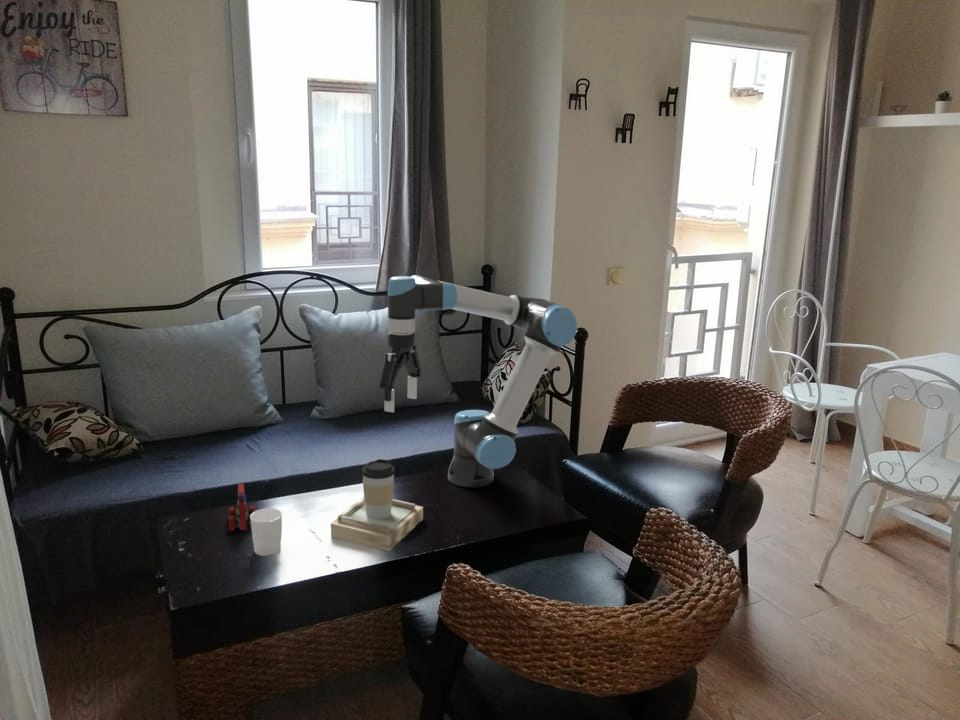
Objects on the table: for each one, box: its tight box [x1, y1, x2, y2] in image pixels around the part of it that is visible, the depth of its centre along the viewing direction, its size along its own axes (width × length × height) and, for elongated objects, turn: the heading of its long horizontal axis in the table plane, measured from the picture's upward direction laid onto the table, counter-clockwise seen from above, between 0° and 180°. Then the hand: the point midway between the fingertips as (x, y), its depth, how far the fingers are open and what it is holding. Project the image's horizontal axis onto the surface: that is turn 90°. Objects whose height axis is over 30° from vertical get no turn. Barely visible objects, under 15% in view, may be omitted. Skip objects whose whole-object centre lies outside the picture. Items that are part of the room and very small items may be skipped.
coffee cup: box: [361, 458, 396, 519], centre depth 200 cm, size 9×9×15 cm
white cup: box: [250, 507, 283, 557], centre depth 188 cm, size 8×8×10 cm
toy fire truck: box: [228, 483, 256, 532], centre depth 201 cm, size 7×12×10 cm, turn 18°
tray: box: [330, 496, 424, 552], centre depth 202 cm, size 20×18×6 cm
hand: (401, 404), depth 206 cm, fingers open, 13 cm apart
